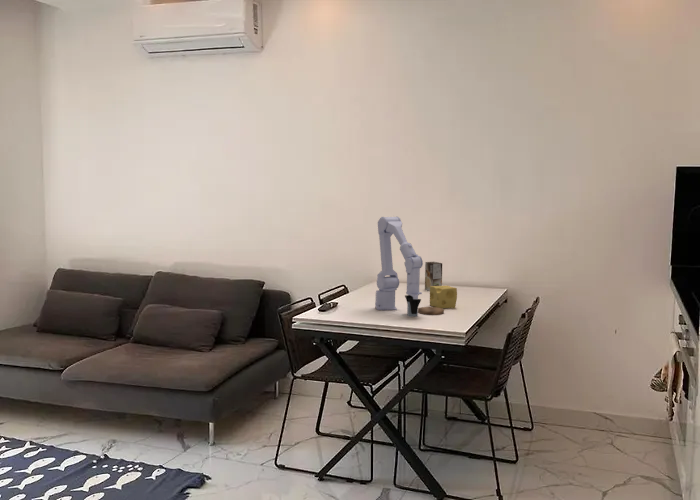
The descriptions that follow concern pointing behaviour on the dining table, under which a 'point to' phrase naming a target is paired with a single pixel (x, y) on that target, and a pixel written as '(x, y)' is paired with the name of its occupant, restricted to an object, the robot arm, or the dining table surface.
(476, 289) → the dining table surface
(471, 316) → the dining table surface
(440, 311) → the disc
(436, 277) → the coffee box
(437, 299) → the cheese
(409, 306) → the block
